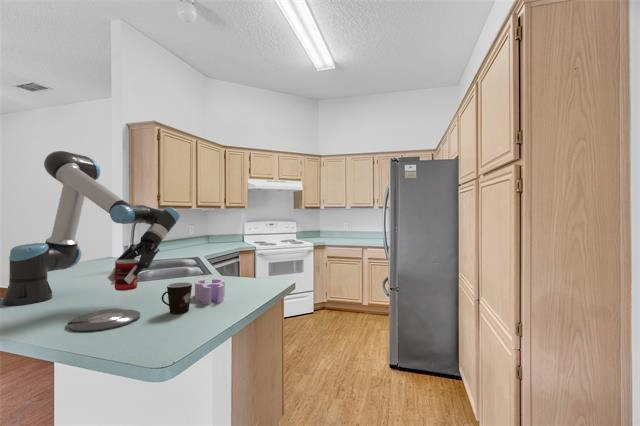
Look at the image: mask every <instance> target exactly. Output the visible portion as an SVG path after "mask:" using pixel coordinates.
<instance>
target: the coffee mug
mask: <svg viewBox="0 0 640 426" xmlns="http://www.w3.org/2000/svg"><path fill="white" fill-rule="evenodd" d="M192 287H193V283H192V282H188V281H187V282H183V281H182V282H173V283H169V284H167V285H166V291H164V292H163V293H162V294H161V302H162V303H164V305H166V306H168V308H169V313H170V315H182V314H186V313H188V312H189V311H190V303H191V296H192ZM166 294H167V299H168V302H166V301H165V298H164V297H165V296H166Z"/></svg>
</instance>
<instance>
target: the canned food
mask: <svg viewBox="0 0 640 426" xmlns="http://www.w3.org/2000/svg"><path fill="white" fill-rule="evenodd" d="M116 260H117V259H116ZM116 260H115V261H116ZM115 261H114V263H115V265H114V268H115V280H114V290H116V291H119V292H123V291H124V292H126V291H132V290H135V289H137V288H138V279H139V276H138V275H139V274H138V275H137V276H136V277H135V278H134V279H133V281H132V282H131V283H130V284H128V283H127V282H126V281H125V280H124V279H125V278H126V277H127V275H128V274H129V273H130V271H131V270H132V269H133V268H134V266H137V265H136V264H138V262H139V260H138V259H135V258H134V259H124V260H117V261H116V262H115ZM137 267H138V266H137Z"/></svg>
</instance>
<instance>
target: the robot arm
mask: <svg viewBox="0 0 640 426" xmlns="http://www.w3.org/2000/svg"><path fill="white" fill-rule="evenodd" d="M43 166H44V169H45V172H46V173H47V174H48V175H50V176H51V177H52V178H53V179H54V180H56V181H58V182H59V183H60V184H62V189H61V193H60V198H59V201H58V206H57V211H56V215H55V219H54V224H53V228H52V231H51V232H52V233H51V235H50V236H49V237H47V238H46V239H45V242H35V243H34V242H33V243H26V244H21V245H17V246H14V247H11V249H10V253H9V257H8V259H9V277H8V278H9V279H8V280H9V282H8V286H7V288H6V291H5V293H4V295H3V298H2V305H4V306H19V305H20V306H22V305H30V304H35V303H36V304H37V303H40V302H44V301H49V300H51V299H53V291H52V288H51V286H50V284H49V281H48V273H49V272H54V271H61V270H62V271H63V270H67V269H69V268H70V269H71V268H72V267H74V266H76V265H77V264H78V263H79V262H80V260H81V258H82V250H81V247H80V246H79V245H78V243H79V241H78V240H76V235H77V231H78V227H79V223H80V217H81V215H82V209H83V205H84V200H85V198H87V199H88V200H89V201H91V202H93V204H95V205H97V206H98V207H99V208H101V209H102V210H104V211H105V212H106V213H108V214H109V218H110V219H111V221H113V222H114V223H115V224H122V225H127V224H128V225H129V224H146V225H150V226H149V227H147V230H146V231H145V232H144V233H143V234H142V236H141V237H140V242H138V243H137V244H133V243H131V244H130V246H129V247H128V248H127V249H126V250H125V251H124V252H123V253H122V254H121V255H120V256H119V257H118V258H117V259H116V260H115V261H114V263H115V262H116V261H117V260H124V259H135V258H138V257H139V260H138V264H136V265H137V266H138V267H137V266H134V268H133V269H132V270H131V271H130V273H129V274H128V275H127V277H126V278H125V279H124V280H125V281H126V282H127V283H128V284H130V283H131V282H132V281H133V279H134V278H135V277H136V276H137V275H139V274H140V273H141V271H142V270H144V269H148V268H149V267H150V266H151V263H153V262H152V261H153V260H154V258H155V257H156V255H157V254H158V252H160V248H159V245H160V244H161V243H162V242H163V240H164V239H165V238H166V237H167V235H168V234H169V232H170V231H171V229H172V228H173V227H174V226H175V225H176V224H177V222H178V221H179V219H180V217H181V216H180V213H179V211H178V210H177V209H175V208H174V207H172V206H170V207H167V206H166V207H165V208H164V209H163V210H161V209H157V208H155V207H154V208H153V207H150V206H147V205H144V204H143V205H142V204H135V205H131V204H129V202H126V201H125V200H124V199H123V198H121V197H120V196H118V195H117V194H115V193H114V192H113V191H111V190H109V189H108V188H107V187H106V186H104V185H102V184H101V183H99V182H98V181H97V180H98V179H99V178H100V176H101V167H100V164H98V162H97V161H96V160H95V159H93V158H92V157H90V156H85V155H82V154H76V153H73V152H69V151H65V150H58V151H52V152H51V153H49V154H48V155H47V156H46V157H45V159H44V162H43ZM107 280H108V281H110V282H111V283H114V282H115V267H114V268H113V269H112V271H111V272H110V274H109V275H108V276H107Z"/></svg>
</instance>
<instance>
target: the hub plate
mask: <svg viewBox="0 0 640 426" xmlns="http://www.w3.org/2000/svg"><path fill="white" fill-rule="evenodd" d="M140 318H141V313H140V311H139V310H135V309H127V308H126V309H122V308H121V309H111V310H102V311H97V312H93V313H87V314H84V315H80V316H78V317H75V318H73V319H71V320H70V321H68V323H67V329H68V331H71V332H76V333H77V332H78V333H92V332H100V331H101V332H102V331H108V330H112V329H118V328H121V327H122V328H123V327H126V326H128V325H130V324H132V323H135V322H137V321H138V320H139V319H140Z"/></svg>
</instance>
